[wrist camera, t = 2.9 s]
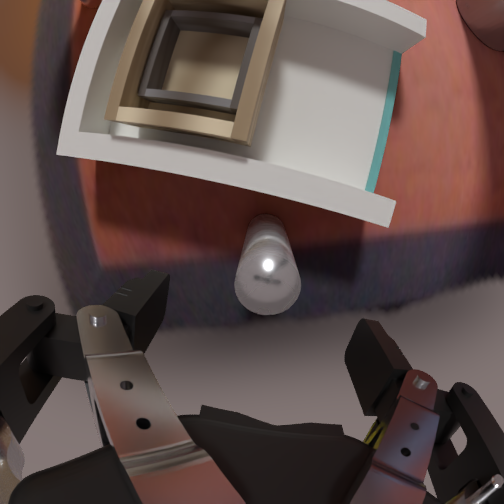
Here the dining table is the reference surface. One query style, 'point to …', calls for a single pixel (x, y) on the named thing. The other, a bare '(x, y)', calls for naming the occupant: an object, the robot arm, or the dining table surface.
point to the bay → (270, 108)
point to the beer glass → (91, 3)
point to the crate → (197, 67)
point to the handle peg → (267, 268)
